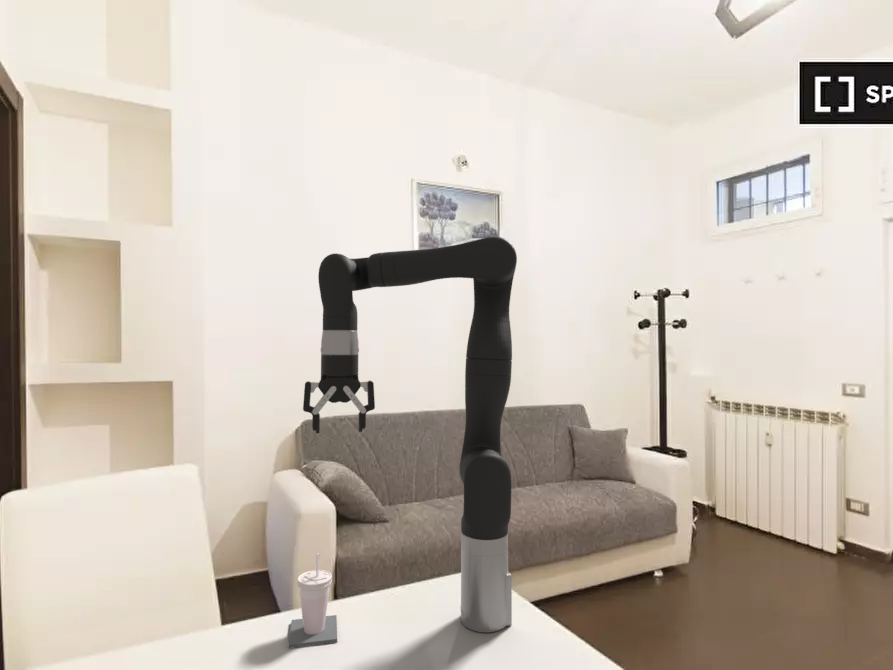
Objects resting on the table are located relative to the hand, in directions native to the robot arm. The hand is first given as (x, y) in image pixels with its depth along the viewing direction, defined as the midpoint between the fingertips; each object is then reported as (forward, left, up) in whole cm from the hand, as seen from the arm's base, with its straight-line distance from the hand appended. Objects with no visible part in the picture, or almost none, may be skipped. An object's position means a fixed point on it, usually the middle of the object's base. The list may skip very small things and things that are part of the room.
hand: (339, 432), depth 105 cm
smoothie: (+4, +7, -36) cm, 37 cm away
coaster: (+4, +7, -36) cm, 37 cm away
